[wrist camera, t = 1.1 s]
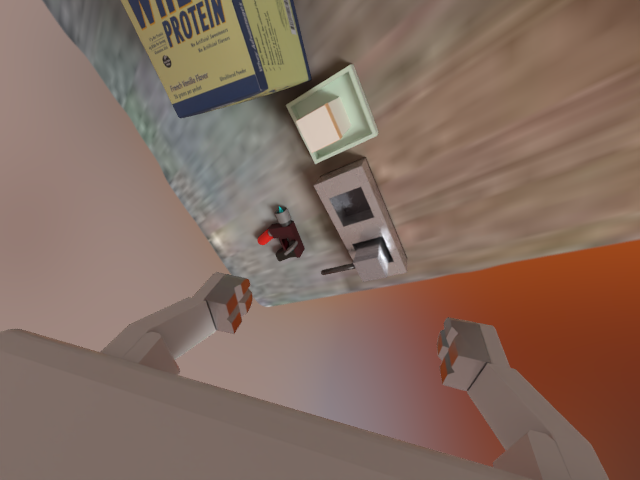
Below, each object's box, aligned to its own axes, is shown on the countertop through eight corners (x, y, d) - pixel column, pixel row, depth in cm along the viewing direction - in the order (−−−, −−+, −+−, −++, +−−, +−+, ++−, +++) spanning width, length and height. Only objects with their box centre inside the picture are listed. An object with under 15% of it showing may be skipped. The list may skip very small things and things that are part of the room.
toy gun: (289, 200, 47) (278, 213, 43) (310, 252, 53) (302, 267, 49) (247, 209, 51) (234, 221, 47) (271, 256, 57) (261, 271, 53)
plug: (339, 96, 35) (324, 104, 28) (352, 125, 36) (340, 139, 30) (314, 110, 36) (295, 121, 30) (327, 138, 38) (311, 153, 32)
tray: (353, 64, 33) (350, 64, 31) (378, 132, 36) (377, 135, 35) (290, 103, 37) (285, 105, 36) (318, 160, 41) (315, 164, 39)
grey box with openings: (365, 157, 39) (356, 177, 32) (407, 258, 47) (406, 291, 40) (294, 187, 45) (274, 209, 38) (341, 272, 53) (332, 302, 46)
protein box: (250, 101, 39) (178, 121, 27) (200, -39, 31) (65, -102, 19) (314, 81, 35) (263, 93, 23) (274, -85, 27) (165, -202, 15)
